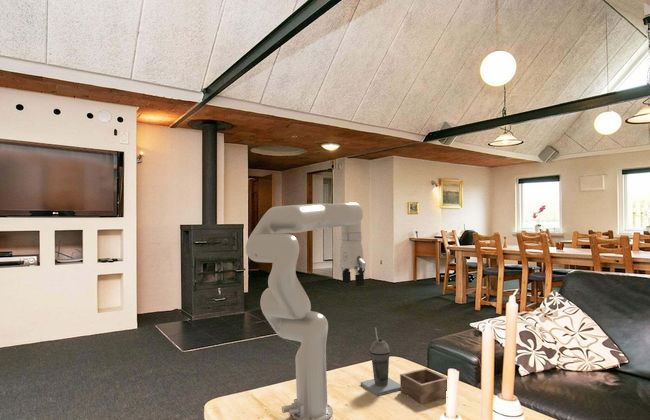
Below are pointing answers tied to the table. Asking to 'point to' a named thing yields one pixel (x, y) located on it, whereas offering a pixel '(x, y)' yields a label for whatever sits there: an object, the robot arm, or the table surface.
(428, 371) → the box
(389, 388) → the rubber mat
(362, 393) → the table surface
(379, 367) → the beverage cup
